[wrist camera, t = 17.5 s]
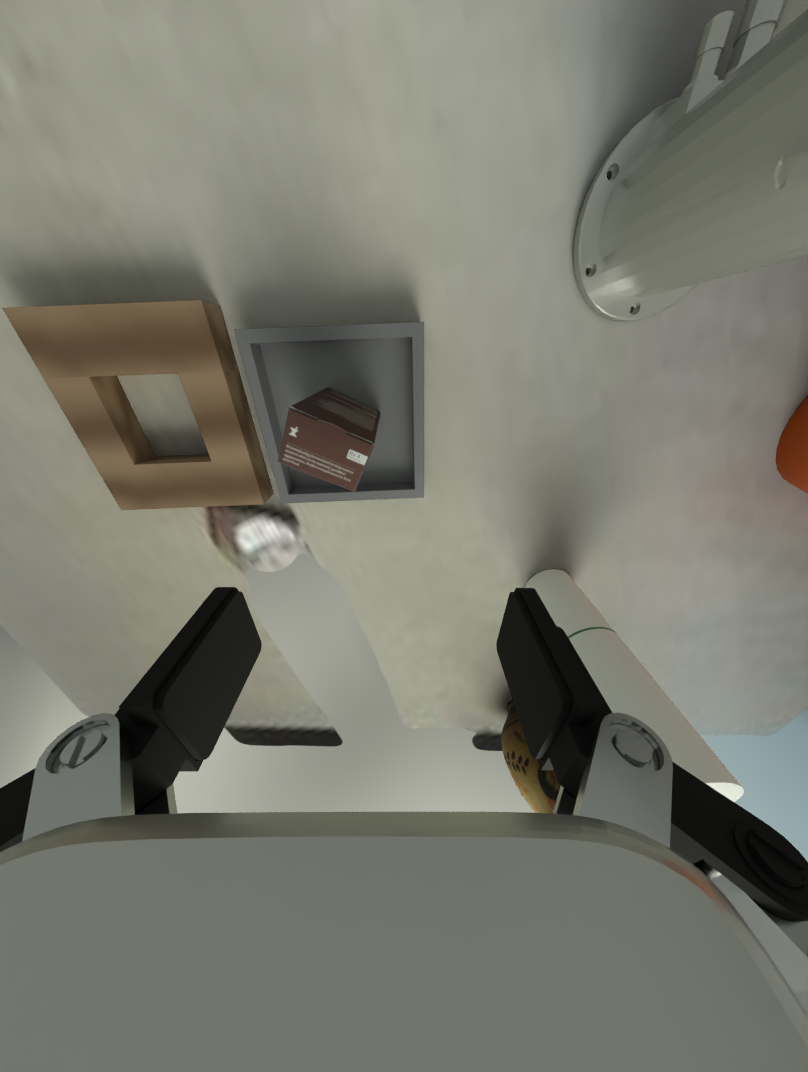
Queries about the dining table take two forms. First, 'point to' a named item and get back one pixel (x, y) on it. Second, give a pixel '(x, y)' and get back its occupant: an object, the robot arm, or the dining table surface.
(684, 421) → the dining table surface
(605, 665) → the cylindrical container
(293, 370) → the tray
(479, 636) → the dining table surface
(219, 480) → the socket board
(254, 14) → the dining table surface
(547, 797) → the ceramic jug
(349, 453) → the box
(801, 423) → the flowerpot
